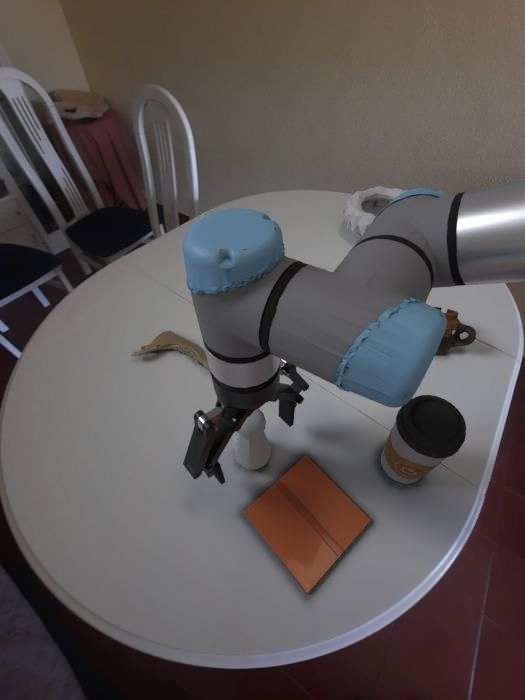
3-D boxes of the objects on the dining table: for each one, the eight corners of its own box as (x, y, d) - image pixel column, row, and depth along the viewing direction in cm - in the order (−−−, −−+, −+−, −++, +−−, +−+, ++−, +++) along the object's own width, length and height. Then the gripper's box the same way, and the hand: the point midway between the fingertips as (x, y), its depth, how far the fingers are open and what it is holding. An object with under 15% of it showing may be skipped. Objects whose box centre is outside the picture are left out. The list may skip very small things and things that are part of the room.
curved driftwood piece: (153, 331, 74) (151, 324, 73) (242, 350, 71) (242, 343, 70) (132, 360, 68) (129, 353, 67) (228, 382, 65) (227, 375, 63)
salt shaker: (258, 481, 53) (255, 446, 43) (228, 462, 55) (219, 424, 45) (277, 451, 56) (279, 412, 46) (249, 434, 58) (244, 392, 48)
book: (370, 521, 49) (371, 519, 48) (307, 594, 44) (307, 593, 43) (305, 456, 55) (305, 453, 55) (243, 512, 50) (243, 510, 49)
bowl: (430, 242, 94) (445, 207, 86) (370, 263, 88) (380, 227, 81) (382, 209, 106) (391, 176, 98) (326, 225, 100) (331, 191, 93)
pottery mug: (402, 348, 70) (409, 309, 67) (413, 338, 77) (421, 303, 75) (468, 363, 64) (479, 320, 61) (474, 350, 71) (484, 312, 68)
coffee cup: (369, 479, 53) (396, 437, 41) (378, 433, 58) (404, 383, 46) (425, 500, 51) (470, 461, 39) (429, 450, 56) (471, 402, 44)
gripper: (302, 291, 43) (294, 386, 59) (119, 406, 33) (170, 482, 49) (349, 322, 39) (327, 414, 55) (158, 464, 29) (200, 525, 45)
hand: (253, 446), depth 52 cm, fingers open, 13 cm apart
